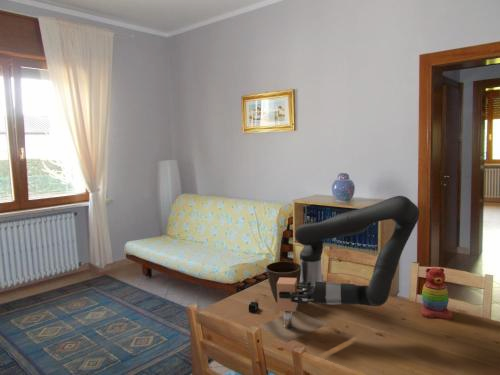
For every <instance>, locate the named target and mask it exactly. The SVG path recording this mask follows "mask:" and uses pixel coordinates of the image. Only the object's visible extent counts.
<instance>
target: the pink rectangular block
mask: <svg viewBox="0 0 500 375" xmlns="http://www.w3.org/2000/svg"><path fill="white" fill-rule="evenodd" d="M296 290H297V278H281V277H280V278H279V280H278V282H277V302H276V303H277V311H281V312H284V311H292V312H296V311H297V308H298V304H299V303H297V302H291V300H290V299H285V298H279V292H295V291H296ZM295 300H297V299H295Z"/></svg>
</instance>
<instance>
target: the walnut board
mask: <svg viewBox="0 0 500 375" xmlns="http://www.w3.org/2000/svg"><path fill="white" fill-rule="evenodd" d="M325 326H327V323H325V322H323V321H322V320H321V321H320V320H318V319H316V318H314V317H312V316H310V315H308V314H306V313H304V312H301V311H299V310H296V312H294V311H292V328H290V329H286V328H284V315H281V316H279V317H277V318H274V319H272V320H269V321H267V322H264V323H262V324H259V325H257V327H259V328H260V329H262V330H264V331H266V332H267V333H269V334H270V335H272V336H274V337H275V338H277V339H278V340H281V341H282V342H285V343H289V342H291V341H294V340H297V339H298V338H300V337H302V336H305V335H307V334H309V333H311V332H314V331H316V330H318V329H321V328H323V327H325Z"/></svg>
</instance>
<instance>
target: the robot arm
mask: <svg viewBox="0 0 500 375" xmlns="http://www.w3.org/2000/svg"><path fill="white" fill-rule="evenodd" d="M419 217H420V209H419V207H418V206H417V205H416V204H415V203H414V202H412V200H411V199H410V198H408V197H406V196H404V195H395V196H392V197H390V198H387V199H384V200H382V201H380V202H376V203H374V204H372V205H368V206H364V207H361V208H357V209H354V210H349V211H345V212H343V213H339V214H337V215H334V216H331V217H330V218H326V219H325V220H321V221H318V222H317V221H308V222H306V223H303V224H301V225H299V226H298V227H297V228H296V230H295V232H294V238H295V241H297V243H299V244H300V245H302V246H303V248H302V250H301V251H300V253H299V264H300V265H301V275H300V282H297V290H296V291H295V292H279V298H285V299H290V300H291V302H297V303H298V304H299V303H300V304H308V303H309V301H310V302H311V301H312V302H313V303H314V304H317V305H319V304H320V305H359V306H370V307H381V306H382V305H384V304H385V303H386V302H387V301H388V299H389V295H390V292H391V291H390V290H391V287H392V283H393V279H394V277H395V274H396V271H397V268H398V265H399V261H400V259H401V256H402V253H403V251H404V250H405V246H406V245H407V243H408V241H409V239H410V236H411V234H412V232H413V231H414V229H415V227H416V224H417V223H418V221H419ZM388 220H391V221H394V222H395V225H394V230H393V232H392V235H391V237H390V238H389V240H388V241H387V242H385V244H384V245H383V247H382V248H381V249H380V251H379V253H378V255H377V258H376V261H375V264H374V267H373V271H372V272H373V273H372V275H371V279H370V281H369V284H368V285H357V284H355V283H339V282H333V281H331V282H330V281H324V275H323V274H322V254H323V251H324V240H328V239H337V238H343V237H349V236H353V235H358V234H361V233H364V232H365V231H366V230H368V228H370V227H371V226H372V225H373V224H375V223H378V222H382V221H388ZM295 299H297V300H295Z"/></svg>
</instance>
